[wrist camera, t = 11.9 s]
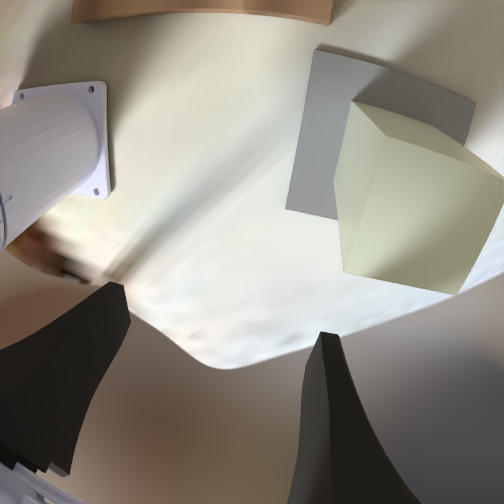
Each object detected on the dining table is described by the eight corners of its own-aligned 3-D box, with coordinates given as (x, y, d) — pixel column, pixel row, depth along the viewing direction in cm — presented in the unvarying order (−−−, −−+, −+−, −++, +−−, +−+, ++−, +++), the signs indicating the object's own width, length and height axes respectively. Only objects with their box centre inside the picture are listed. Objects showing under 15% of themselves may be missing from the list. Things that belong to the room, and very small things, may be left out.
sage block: (333, 180, 16) (343, 272, 10) (351, 100, 14) (385, 136, 7) (408, 199, 16) (456, 295, 9) (431, 125, 13) (511, 183, 7)
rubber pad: (285, 205, 18) (285, 208, 18) (314, 49, 13) (314, 49, 13) (425, 238, 17) (427, 242, 17) (472, 101, 12) (475, 102, 12)
